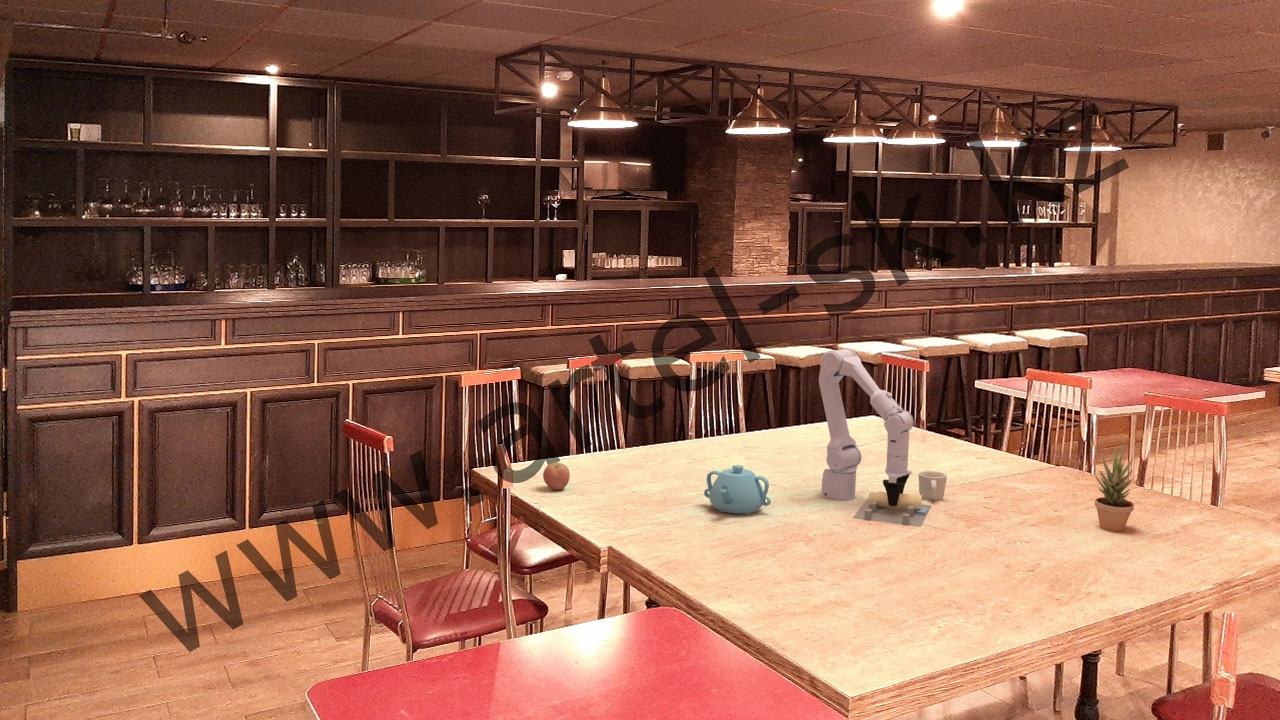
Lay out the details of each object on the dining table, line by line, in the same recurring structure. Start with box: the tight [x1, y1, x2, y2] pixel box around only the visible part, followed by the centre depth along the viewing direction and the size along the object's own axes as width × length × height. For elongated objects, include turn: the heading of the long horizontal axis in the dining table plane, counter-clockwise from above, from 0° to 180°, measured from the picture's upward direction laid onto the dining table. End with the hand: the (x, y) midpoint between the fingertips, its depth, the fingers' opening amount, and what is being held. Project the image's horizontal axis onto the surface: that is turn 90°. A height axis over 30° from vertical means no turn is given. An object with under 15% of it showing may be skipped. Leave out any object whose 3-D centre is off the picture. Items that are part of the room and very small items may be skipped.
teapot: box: [703, 464, 772, 516], centre depth 285 cm, size 20×20×13 cm
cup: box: [918, 470, 948, 502], centre depth 299 cm, size 11×8×8 cm
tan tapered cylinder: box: [867, 491, 923, 509], centre depth 287 cm, size 14×4×4 cm, turn 67°
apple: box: [542, 462, 571, 491], centre depth 306 cm, size 8×8×8 cm
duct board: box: [852, 491, 932, 528], centre depth 285 cm, size 18×22×3 cm
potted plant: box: [1094, 438, 1135, 532], centre depth 275 cm, size 10×10×25 cm
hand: (895, 502), depth 287 cm, fingers open, 7 cm apart
